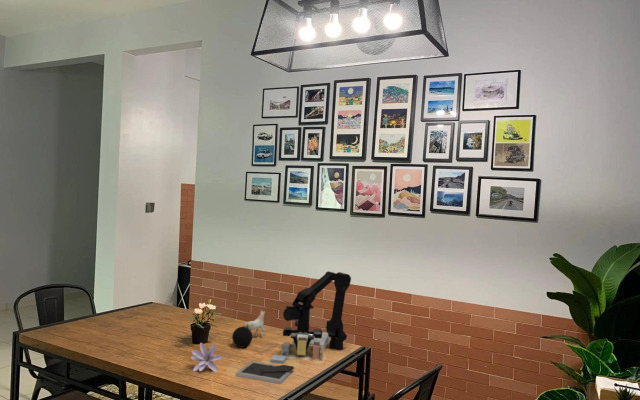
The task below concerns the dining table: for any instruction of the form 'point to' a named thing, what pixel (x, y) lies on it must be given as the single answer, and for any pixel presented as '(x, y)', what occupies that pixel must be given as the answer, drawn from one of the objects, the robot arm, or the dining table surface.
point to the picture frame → (266, 372)
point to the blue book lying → (278, 359)
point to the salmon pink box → (316, 350)
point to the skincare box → (317, 339)
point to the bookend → (286, 349)
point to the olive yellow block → (301, 346)
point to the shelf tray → (304, 357)
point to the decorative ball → (242, 336)
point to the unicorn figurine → (256, 324)
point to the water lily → (205, 358)
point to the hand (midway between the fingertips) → (301, 350)
